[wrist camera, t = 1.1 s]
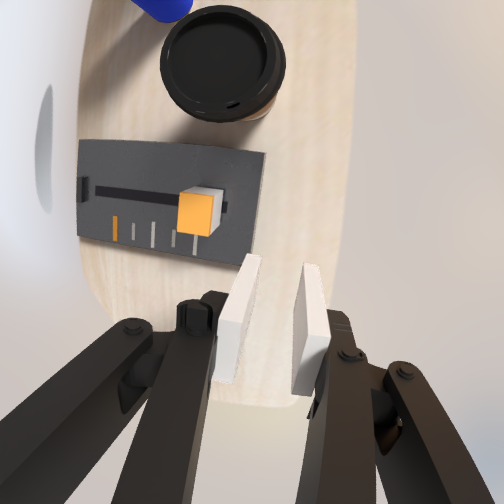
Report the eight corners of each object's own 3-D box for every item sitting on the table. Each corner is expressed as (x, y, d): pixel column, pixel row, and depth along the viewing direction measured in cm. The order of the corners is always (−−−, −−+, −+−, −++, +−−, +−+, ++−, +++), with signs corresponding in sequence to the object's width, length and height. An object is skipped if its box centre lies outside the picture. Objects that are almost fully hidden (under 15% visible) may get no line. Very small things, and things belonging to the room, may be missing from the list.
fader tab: (194, 186, 31) (179, 192, 27) (223, 190, 31) (212, 196, 27) (191, 220, 33) (176, 231, 28) (219, 224, 32) (208, 236, 28)
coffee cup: (223, 143, 32) (172, 141, 18) (198, 74, 30) (135, 31, 16) (300, 117, 30) (306, 92, 16) (272, 47, 28) (256, -20, 14)
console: (88, 139, 34) (75, 139, 31) (266, 152, 32) (263, 153, 29) (85, 231, 38) (73, 237, 35) (251, 260, 36) (247, 269, 33)
